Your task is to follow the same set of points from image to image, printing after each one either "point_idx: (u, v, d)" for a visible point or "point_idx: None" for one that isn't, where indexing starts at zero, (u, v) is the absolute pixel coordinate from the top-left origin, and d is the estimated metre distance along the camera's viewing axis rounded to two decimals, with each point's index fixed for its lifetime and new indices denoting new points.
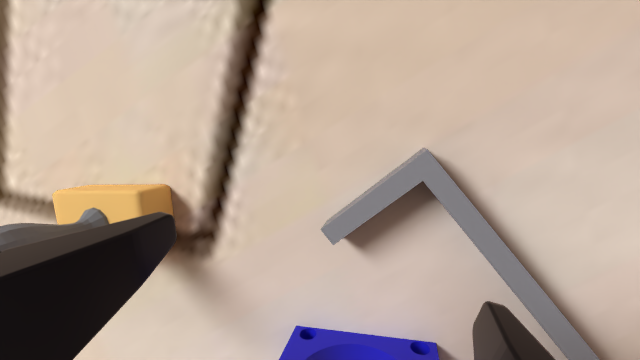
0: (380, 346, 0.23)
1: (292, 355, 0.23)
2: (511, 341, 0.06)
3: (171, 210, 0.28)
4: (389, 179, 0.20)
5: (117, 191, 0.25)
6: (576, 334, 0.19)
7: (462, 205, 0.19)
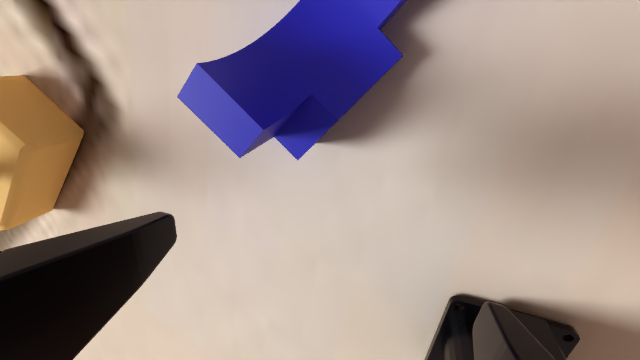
0: None
1: None
2: (511, 341, 0.06)
3: (47, 99, 0.20)
4: None
5: None
6: None
7: None
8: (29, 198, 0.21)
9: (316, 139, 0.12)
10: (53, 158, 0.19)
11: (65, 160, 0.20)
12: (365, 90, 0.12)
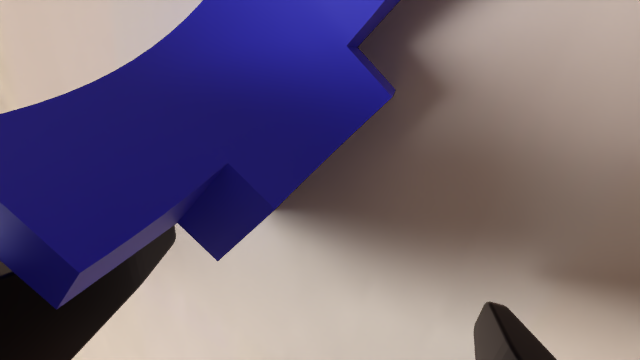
0: None
1: None
2: (512, 341, 0.06)
3: None
4: None
5: None
6: None
7: None
8: None
9: (243, 234, 0.07)
10: None
11: None
12: (327, 154, 0.07)
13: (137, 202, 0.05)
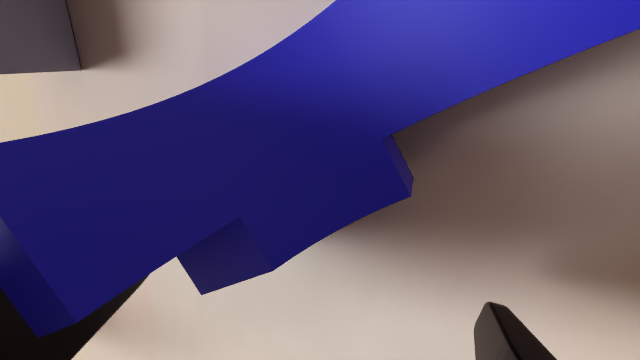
0: None
1: None
2: (513, 342, 0.06)
3: None
4: None
5: None
6: None
7: None
8: None
9: (234, 281, 0.07)
10: None
11: None
12: (335, 227, 0.07)
13: (145, 246, 0.06)
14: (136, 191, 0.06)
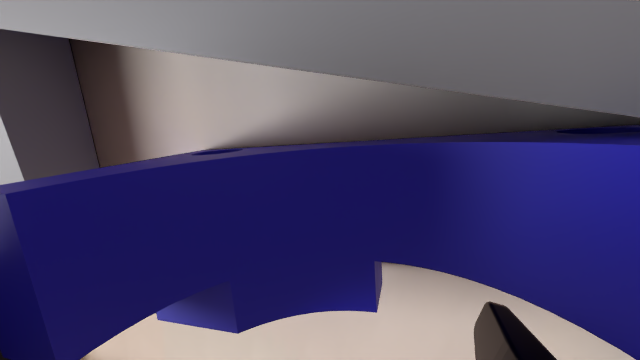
0: (442, 140, 0.06)
1: (121, 167, 0.06)
2: (513, 342, 0.06)
3: None
4: None
5: None
6: (597, 8, 0.04)
7: None
8: None
9: (197, 324, 0.08)
10: None
11: None
12: (304, 310, 0.08)
13: (139, 298, 0.06)
14: (149, 243, 0.06)
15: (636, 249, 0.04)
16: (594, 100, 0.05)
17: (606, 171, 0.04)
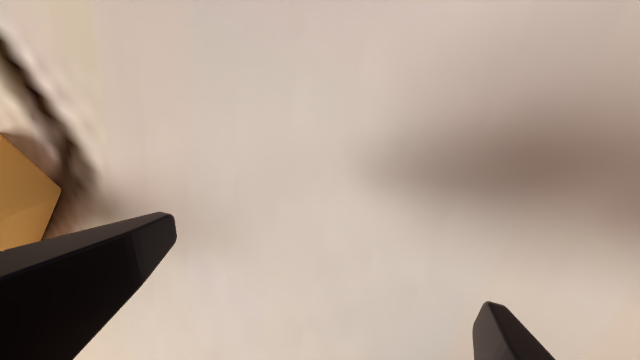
0: None
1: None
2: (511, 341, 0.06)
3: (22, 157, 0.19)
4: None
5: None
6: None
7: None
8: None
9: None
10: (27, 219, 0.18)
11: (41, 218, 0.20)
12: None
13: None
14: None
15: None
16: None
17: None
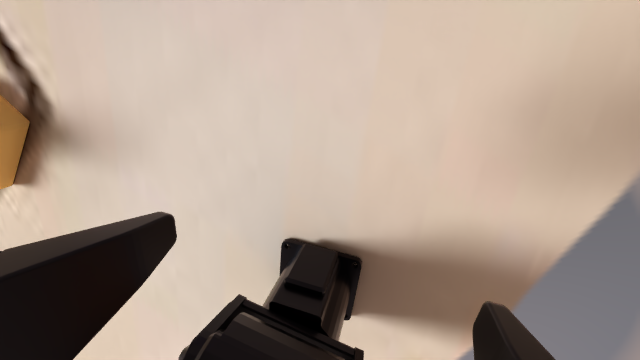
0: None
1: None
2: (511, 341, 0.06)
3: (1, 98, 0.26)
4: None
5: None
6: None
7: None
8: None
9: None
10: (5, 141, 0.26)
11: (16, 144, 0.27)
12: None
13: None
14: None
15: None
16: None
17: None
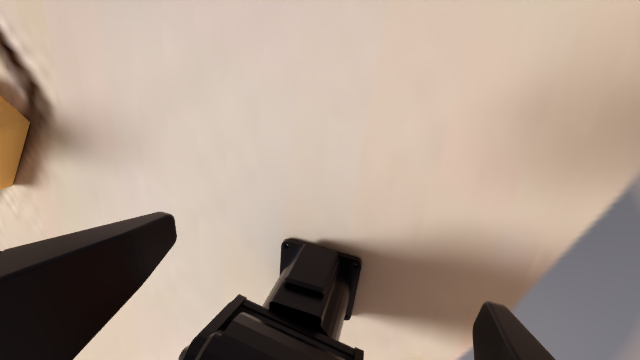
0: None
1: None
2: (511, 341, 0.06)
3: (1, 98, 0.26)
4: None
5: None
6: None
7: None
8: None
9: None
10: (5, 141, 0.26)
11: (16, 144, 0.27)
12: None
13: None
14: None
15: None
16: None
17: None
